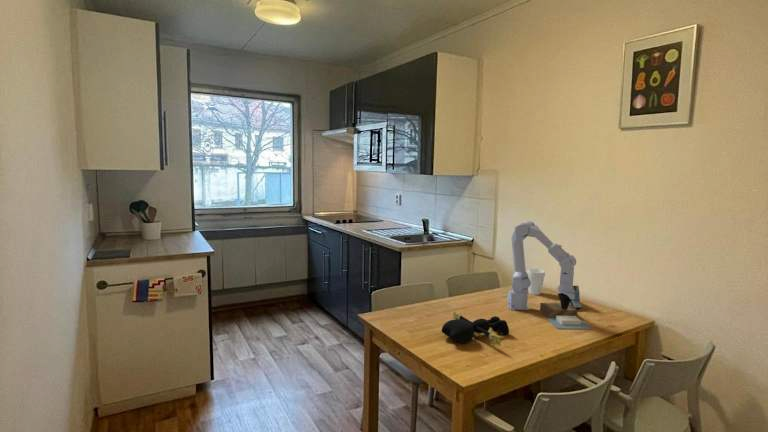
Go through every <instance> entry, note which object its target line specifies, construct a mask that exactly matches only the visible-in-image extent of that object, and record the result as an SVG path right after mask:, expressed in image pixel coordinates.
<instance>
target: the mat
mask: <svg viewBox="0 0 768 432" xmlns="http://www.w3.org/2000/svg"><path fill="white" fill-rule="evenodd" d="M578 318H579V319H580V320H581V325H561V324H560V323H559V322H558V321H557V320H556V318H547V317H545V319H546V320H547V321H548V322H550V323H551V324H552V325H553V327H555V328H556V329H557V330H593V329H594V328H593V327H591V326H590V325H589V324H588V323H586V322H585V321H584V320H583V319H581V318H580V317H578Z"/></svg>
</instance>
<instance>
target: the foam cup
mask: <svg viewBox="0 0 768 432" xmlns="http://www.w3.org/2000/svg"><path fill="white" fill-rule="evenodd" d="M526 272H527V274H528V277H529V279H530V282H531V284H530V286H529V287H528V294H530V295H535V296H536V295H537V296H538V295H541V293H542V288H543V285H544V279H545V276H546V271H545V270H544V269H539V268H528V269H527V271H526Z"/></svg>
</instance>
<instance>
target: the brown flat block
mask: <svg viewBox="0 0 768 432" xmlns="http://www.w3.org/2000/svg"><path fill="white" fill-rule="evenodd" d="M539 305H540V308H539V311H540V312H541V313H542V314H543V315H544V316H545V318H556V316H576V317H577V318H578V310H579V309H575V308H574V307H572V306H571V304H570V303H569V306H568V308H567V310H563V309H562V308H561V302H558V303H557V302H540V304H539Z"/></svg>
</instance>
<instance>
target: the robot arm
mask: <svg viewBox="0 0 768 432" xmlns="http://www.w3.org/2000/svg"><path fill="white" fill-rule="evenodd" d="M527 237H530V238H531V237H532V238H534V239H536V240H538V241H539V242H540V244H543V246H545V247H546V248H547V250H548V251H547V252H548V254H549V255H551V256H552V257H553V258H554V259H555V260H556V261H557V262H558V263H559V264H558V265H559V267H560V274H559V275H560V277H559V285H557V286H556V287H557V288H556V290H557V291H558V292H559V293H557V296H558V299H559V301H560V302H559V303H561V308H562V309H563V310H567V308H568V306H569V304H570V301H571V300H572V299H575V295H574V293H573V292H575V291H574V290H572V289H573V286H574V274H575V266H576V264H577V259H576V257H575V255H572V254H570V253H569V252H567V251H565V249H563V248H562V245H561V244H558V243H554V242H552V240H551V239H550V238H549V237H548V236H547V235H545V233H544V232H543V231H542V230H541V229H540V227H539V226H538V225H537V224H535V223H534V221H526V222H520V223H518V224H517V225H516V226H514V231H513V234H512V235H511V247H512V255H513V256H512V258H513V259H512V260H513V268H514V273H513V275H512V276H511V277H512V281H511V284H510V285H511V289H512V290H508V291H507V298H506V299H507V300H506V303H507V304H506V306H507V307H508V308H509V309H510V310H511V311H530V310H531V308H529V307H528V298H529V286H530V284H531V282H530V279H529V277H528V274H527V271H526V259H525V248H524V240H525V239H527Z"/></svg>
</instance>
